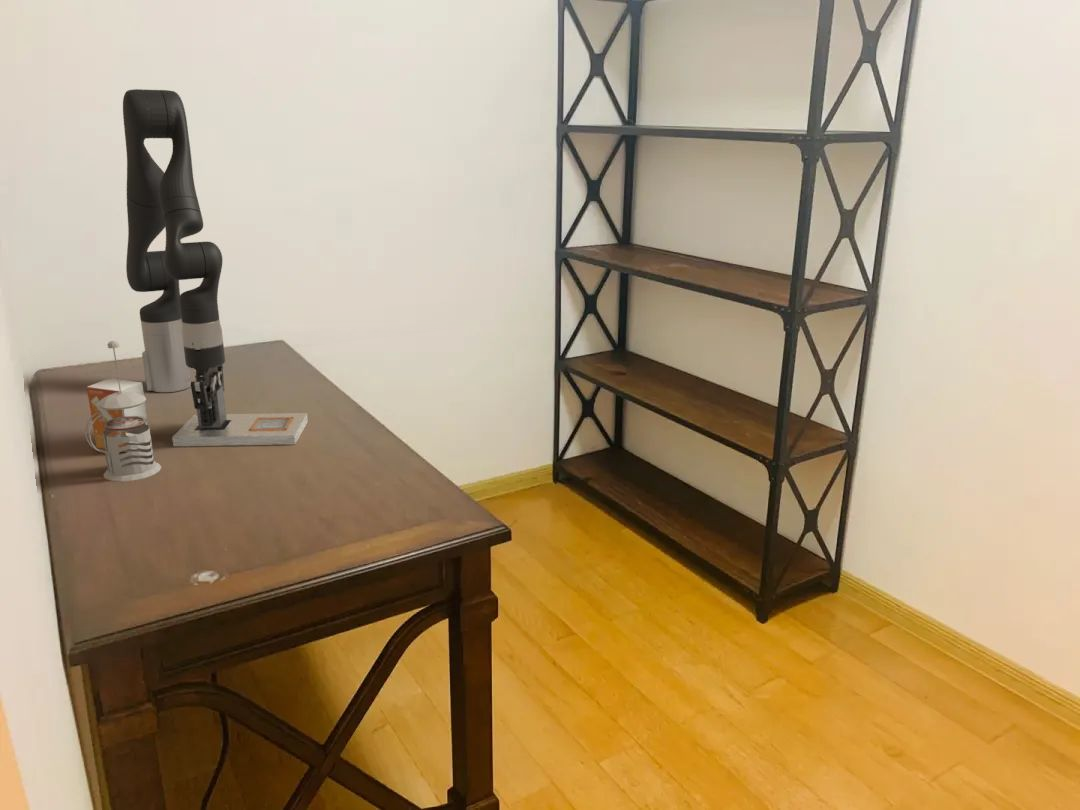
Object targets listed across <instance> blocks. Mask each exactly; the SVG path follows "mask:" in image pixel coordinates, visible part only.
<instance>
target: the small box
mask: <svg viewBox="0 0 1080 810" xmlns="http://www.w3.org/2000/svg"><path fill="white" fill-rule="evenodd" d="M119 382H120V389H121V392H134V393H138V394H140V395H143V396H145V393H144V387H143V386H144V385H143V382H141V381H140V382H139V381H132V380H127V379H119ZM86 390H87V397H88V398H87V399H88V403H89V410H90V416H93V415H94V414H95V413H100V415H103V416H104V421H101V420H100V417H99V418H97V419H96V420H95V422H94V423H93V425H92V428H93V430H92V431H93V435H94V442H95V443H94V444H95V447H96V448H97V449H103V450H106V449H105V443H104V437H103V432H104V430H106V428H105V427H104V424H105V422H106V421H109V420H111V419H114V418H117V417H123V409H122V410H104V409H101V408H99V406H98V405H97V403H98V402H99V401H100V400H101V399H103V398H104V397H106V396H108V395H111V394H113V393H118V392H120V390H119V383H118V378H116V379H115V378H107V379H104V380H101V381H99V382H95V383H92V384H91V385H88V386H86ZM124 415H125V416H126V417H127V416H141V417H144V418H146V420H147V421H146V423H145V424H146V425H148V426H149V421H148V420H149V419H148V415H147V407H146V402H145V403H144V404H142V405H139V406H136V407H133V408H128V409H124ZM98 416H99V414H96V415H95V416H94V417H92V419H91V423H92V422H93V420H94V419H95V418H96V417H98ZM101 419H102V420H103V418H102V416H101ZM117 434H121V435H125V436H134V435H138V434H131V433H126V432H122V431H114V432H112V433H111V434H109V435H108V437H111V436H113V435H117ZM129 443H136V444H140V443H143V442H129ZM125 446H128V445H124V444H120V445H118V447H125ZM107 447H108V446H107ZM134 449H136V450H139V448H134ZM121 452H122V453H128V451H121ZM121 452H120V453H121Z"/></svg>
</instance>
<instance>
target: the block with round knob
mask: <svg viewBox="0 0 1080 810" xmlns="http://www.w3.org/2000/svg"><path fill="white" fill-rule="evenodd" d="M207 393H210V391H209V392H207ZM224 393H225V390H224V391H223V385H220V386H216V387H215V391H214V394H215V396H214V397H213V398H212V413H213V421H214V424H213V425H212V426H202V423H201V415H200V409H196V415H197V416H198V424H199V430H224V429H225V428H226V427H227V418H226V414H227V411H226V404H225V403H226V402H225V394H224ZM202 403H204V400H203V399H202Z"/></svg>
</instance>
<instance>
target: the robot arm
mask: <svg viewBox="0 0 1080 810" xmlns="http://www.w3.org/2000/svg"><path fill="white" fill-rule="evenodd" d="M122 115H123V116H122V117H123V118H122V119H123V126H124V127H123V128H124V137H125V138H124V139H125V148H126V149H125V150H126V210H127V211H126V212H127V231H128V232H127V233H128V235H127V236H128V237H127V249H126V263H125V265H126V266H125V267H126V279H127V282H128V285H129V286H130V289H132V290H133V291H134V292H137V293H138V292H139V293H149V292H151V293H152V292H157V291H158V292H161V291H162V294H161V295H160V296H159V297H157V299H155V300H154V301H152V302H150V303H148V304H146V305H144V306H142V307H141V308H140V309H139V319H140V324H141V326H140V327H141V332H142V339H143V345H144V346H143V347H144V351H143V352H142V355H141V357H142V364H143V369H144V371H143V372H144V377H145V384H146V391H149V392H150V391H152V392H155V393H173V392H180V391H183V390H186V389H188V388H190V389H191V395H192V400H193V405H194V406H193V407H194V410H197V409H200V415H201V423H202V426H212V425H213V424H214V421H213V413H212V398H213V397H214V396H215V394H214V391H215V387H216V386H220V385H223V391H224V392H225V383H224V366H223V365H225V363H226V356H225V355H226V354H225V346H224V337H223V336H224V335H223V330H222V325H221V321H220V313H219V305H218V304H219V303H218V296H219V295H218V293H219V283H220V279H221V273H222V270H223V269H222V268H223V255H222V254H223V253H222V252H221V249H220V248H219V246H218V245H216V243H215V242H212V241H195V242H194V241H193V242H182V241H181V240H182V239H184V238H187V237H190V236H194V235H196V234H198V233H200V232H201V231H202V230H203V228H204V220H203V216H202V212H201V208H200V204H199V200H198V199H199V198H198V196H197V190H196V186H195V181H194V180H195V179H194V174H193V163H192V160H193V159H192V153H191V145H190V137H189V130H188V129H189V128H188V120H187V115H186V109H185V105H184V103H183V101H182V98H181V96H180V95H179V94H178V92H176V91H174V90H166V89H142V88H140V89H139V88H138V89H137V88H135V89H128V90H126V91H125V93H124V94H123V99H122ZM146 139H171V142H172V153H171V155H170V159H169V162H168V164H167V167H166V169H165V171H164V170H162V168H161V167H160V166H159V165H158V163H157V162H156V161H155V160H154V159H153V158H152V156H151V154H150V152H149V151H148V149H147V148H146V146H145V140H146ZM163 230H165V249H164V250H153V251H148V250H149V248H150V245H151V244H152V243H153V241H155V239H156V238H157V237H158V236H159V235H160V234H161V233H162V232H163ZM194 279H195V280H196V279H202V281H201V283H200V285H199V286H197V287H195V288H192V289H189V290H187V291H184V292H182V293H181V292H180V281H185V280H194ZM190 369H194V370H195V375H194V381H191V375H190ZM209 391H210V393H207V392H209ZM202 399H203V400H204V403H202Z"/></svg>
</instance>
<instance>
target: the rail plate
mask: <svg viewBox="0 0 1080 810" xmlns="http://www.w3.org/2000/svg"><path fill="white" fill-rule="evenodd" d="M226 418H227V427H226V428H225V429H224V430H199V424H198V416H197V414H193V415H192V416H191V417H190V419H188V420H187V421H186V422H185V423H184V424H183V425H182V426H181V428H179V430H178V431H177V432H176V433H174V435H173V436H172V445H173V446H172V447H174V448H177V447H179V448H180V447H226V446H227V447H229V446H233V447H234V446H235V447H236V446H281V445H282V446H283V445H284V446H286V445H292V446H293V445H294V446H295V445H296V443H297V441H298V440H299V438H300V437H301V436H302V435H301V434H302V433H303V432H304V429H305V428H306V425H307V424H308V422H309V421H308V412H293V413H292V412H291V413H289V412H287V413H286V412H285V413H284V412H283V413H279V412H278V413H274V412H273V413H226Z"/></svg>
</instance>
